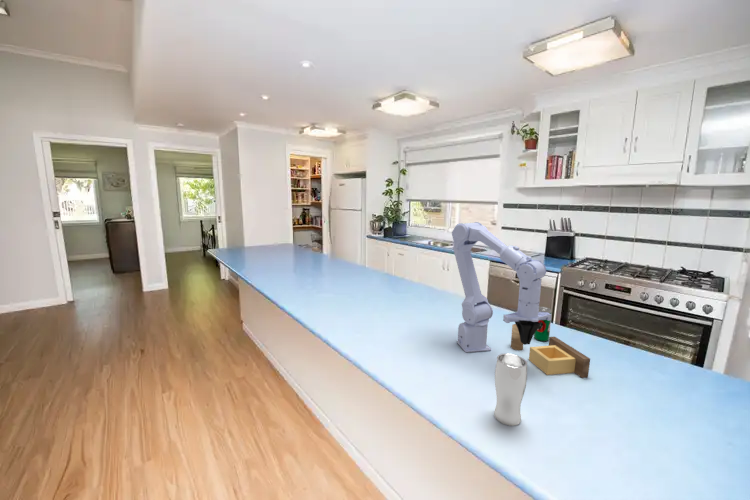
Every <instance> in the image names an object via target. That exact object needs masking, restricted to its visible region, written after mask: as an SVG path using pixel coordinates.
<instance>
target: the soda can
mask: <svg viewBox="0 0 750 500" xmlns="http://www.w3.org/2000/svg"><path fill="white" fill-rule="evenodd" d="M539 312H548V313H550V314H551V315H552V313H553V312H552V308H550V307H547V306H539ZM538 322H539V323H540V327H539V328H538V329H537V330H536V332H535V333H534V335H533V337H534V340H536V341H539V342H547V341H548V342H549V337H550V332H551V323H552V319H551V320H550V321H548V320H538Z"/></svg>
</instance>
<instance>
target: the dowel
mask: <svg viewBox="0 0 750 500" xmlns="http://www.w3.org/2000/svg"><path fill="white" fill-rule="evenodd" d="M511 326H512V327H511V337H510V348H511V349H512V350H515V351H522V350H524V344H523V343H521V340H520V335H519V331H518V328H517V326H516V324H515V323H514V324H512V325H511Z"/></svg>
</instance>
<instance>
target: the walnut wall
mask: <svg viewBox="0 0 750 500" xmlns="http://www.w3.org/2000/svg"><path fill="white" fill-rule="evenodd" d="M551 345H556V346H557V347H559V348H560V349H562V350H563V351H565V352H566V353H568V354H569V355H571V356H572V357H574V358H575V359H576V362H575V371H574V373H575V375H577V376H578V377H580V378H582V379H584V378H585V379H587V378H589V374H590V373H589V371H590V363H591V358H590V357H588V356H586V354H584V353H582V352H580V350H579V351H578V350H577V349H576V348H574V347H572V346H570V344H567V343H566V342H565V341H563V340H561V339H559V338H558V337H557V336H549V340H548V346H551ZM574 373H573V374H574Z"/></svg>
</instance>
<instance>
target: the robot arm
mask: <svg viewBox="0 0 750 500" xmlns="http://www.w3.org/2000/svg"><path fill="white" fill-rule="evenodd" d="M451 236H452V239H453V240H452V241H453V254H454V257H455V260H456V264H457V265H456V266H457V269H458V272H459V276H460V281H461V284H462V289H463V292H464V297H465V298H464V299H463V300H462V303H461V307H462V308H461V309H462V310H461V315H462V319H463V320H464V322H460V323H459V325H458V328H457V329H458V330H457V341H456V343H457V344H458V345H459V347H460V348H461V349H462V350H463V351H464V352H465V353H471V352H472V353H473V352H475V353H476V352H485V351H489V352H490V351H491V350H492V348H491V347H490V346H488V344H487V340H488V325H489V321H490V319H492V317H493V314H494V312H493V311H494V310H493V307H492V306H491V304H490V303H489V301H488V298H487V296H485V295H484V294H482V290H481V287H480V284H479V279H478V275H477V272H476V268H475V264H474V260H473V258H472V257H473V256H472V253H471V250H472V248H473V246H475V244H477V243H479V242H480V243H483V244H484V245H485V246H487V247H488V248H489V249H491V250H493V251H494V252H496V253H497V254H499V259H500V261H502V262H503V263H504V264H506V265H507V266H508V267H509V268H511V269H512V270H513V271H515V272H516V276H517V278H518V280H519V288H518V290H519V291H518V301H517V302H518V303H517V311H516V312H511V313H508V314H503V317H502V318H503V319H502V321H503V322H504V323H506V324H510V323H514V324H516V326H517V328H518V331H519V335H520V340H521V343H523V346H524V345H530V344H531V341H532V339H533V337H534V333H535V332H536V330H537V329H538V328H539V327H540V323H539V322H538V320H548V321H550V320H551V321H552V314H550V313H548V312H539V307H540V300H541V292H542V291H541V290H542V279H543V278H544V277H545V275H546V274H547V267H546V265H545V264H544V262H542V260H540V259H533V258H532V256H531V255H527V254H525V253H524V252H523V251H521V250H520V247H519V246H517V245H515V246H514V245H510V244H509V245H506V244H505V242H503V241H502V240H501V239H500V238H498V237H497V236H496V235H494V234H493V232H491V231H489V230H488V228H487V226H486V225H483V224H482V223H481V222H479V221H475V222H467V223H466V222H465V223H462V222H461V223H457V224H456V225H455V226H454V227H453V229H452V232H451Z"/></svg>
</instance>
